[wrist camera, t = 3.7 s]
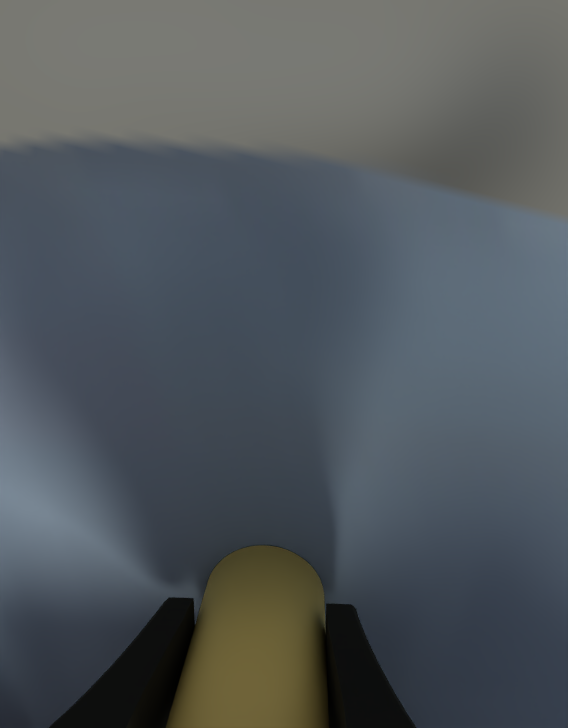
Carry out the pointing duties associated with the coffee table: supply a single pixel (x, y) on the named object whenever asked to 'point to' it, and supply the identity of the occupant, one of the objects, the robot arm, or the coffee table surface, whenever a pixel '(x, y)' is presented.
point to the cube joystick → (256, 647)
